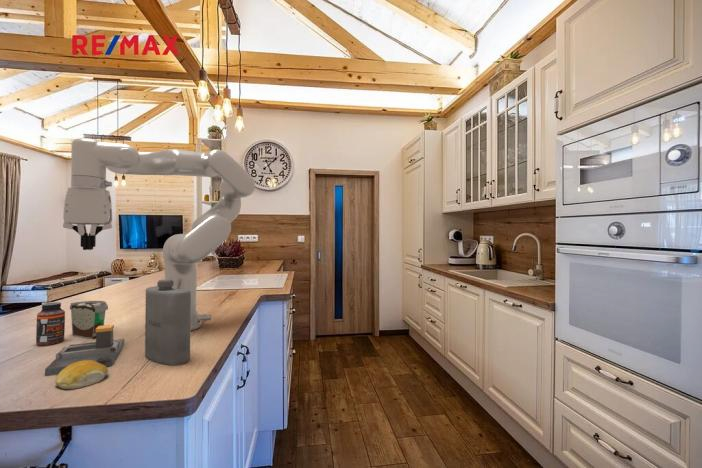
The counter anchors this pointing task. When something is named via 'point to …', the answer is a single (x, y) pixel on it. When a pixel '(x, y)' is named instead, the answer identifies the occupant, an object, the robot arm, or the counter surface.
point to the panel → (84, 355)
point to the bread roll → (81, 374)
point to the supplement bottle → (50, 324)
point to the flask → (167, 324)
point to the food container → (87, 317)
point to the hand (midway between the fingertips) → (88, 249)
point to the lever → (104, 336)
